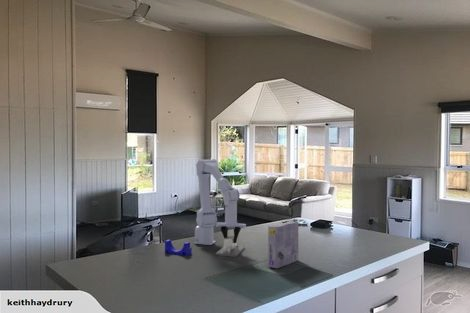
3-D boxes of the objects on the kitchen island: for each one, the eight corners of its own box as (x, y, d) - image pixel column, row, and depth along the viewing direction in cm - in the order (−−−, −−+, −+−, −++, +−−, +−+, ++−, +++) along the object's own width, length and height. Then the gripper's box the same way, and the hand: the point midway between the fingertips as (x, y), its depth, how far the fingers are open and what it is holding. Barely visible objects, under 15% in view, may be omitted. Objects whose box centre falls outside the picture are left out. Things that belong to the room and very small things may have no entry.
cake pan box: (290, 258, 189) (291, 219, 189) (300, 260, 186) (300, 221, 186) (266, 267, 175) (267, 226, 174) (276, 269, 171) (277, 227, 171)
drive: (223, 249, 195) (223, 238, 195) (229, 244, 204) (229, 234, 204) (231, 249, 194) (232, 238, 194) (237, 245, 203) (237, 234, 203)
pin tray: (215, 255, 193) (215, 247, 193) (225, 247, 209) (225, 240, 208) (236, 256, 190) (236, 249, 190) (244, 248, 206) (244, 241, 206)
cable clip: (191, 254, 195) (191, 241, 195) (186, 256, 191) (186, 243, 191) (170, 251, 200) (170, 238, 200) (164, 253, 196) (164, 240, 196)
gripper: (214, 214, 197) (213, 243, 197) (243, 216, 193) (243, 245, 194) (218, 212, 204) (218, 239, 204) (246, 214, 200) (246, 242, 200)
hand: (230, 242), depth 199 cm, fingers closed on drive, 4 cm apart
